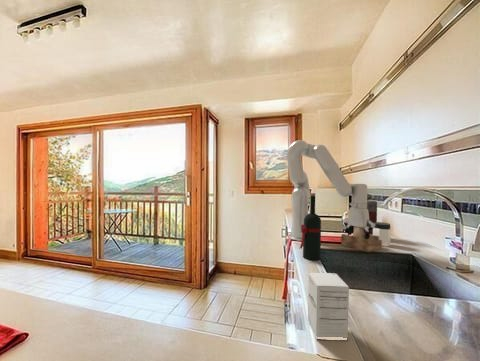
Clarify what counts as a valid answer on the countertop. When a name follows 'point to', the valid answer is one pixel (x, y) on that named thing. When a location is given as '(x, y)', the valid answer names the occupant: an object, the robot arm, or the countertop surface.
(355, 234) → the roll
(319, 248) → the wine bottle
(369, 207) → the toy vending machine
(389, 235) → the jar
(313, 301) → the supplement box
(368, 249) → the holder
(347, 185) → the robot arm
